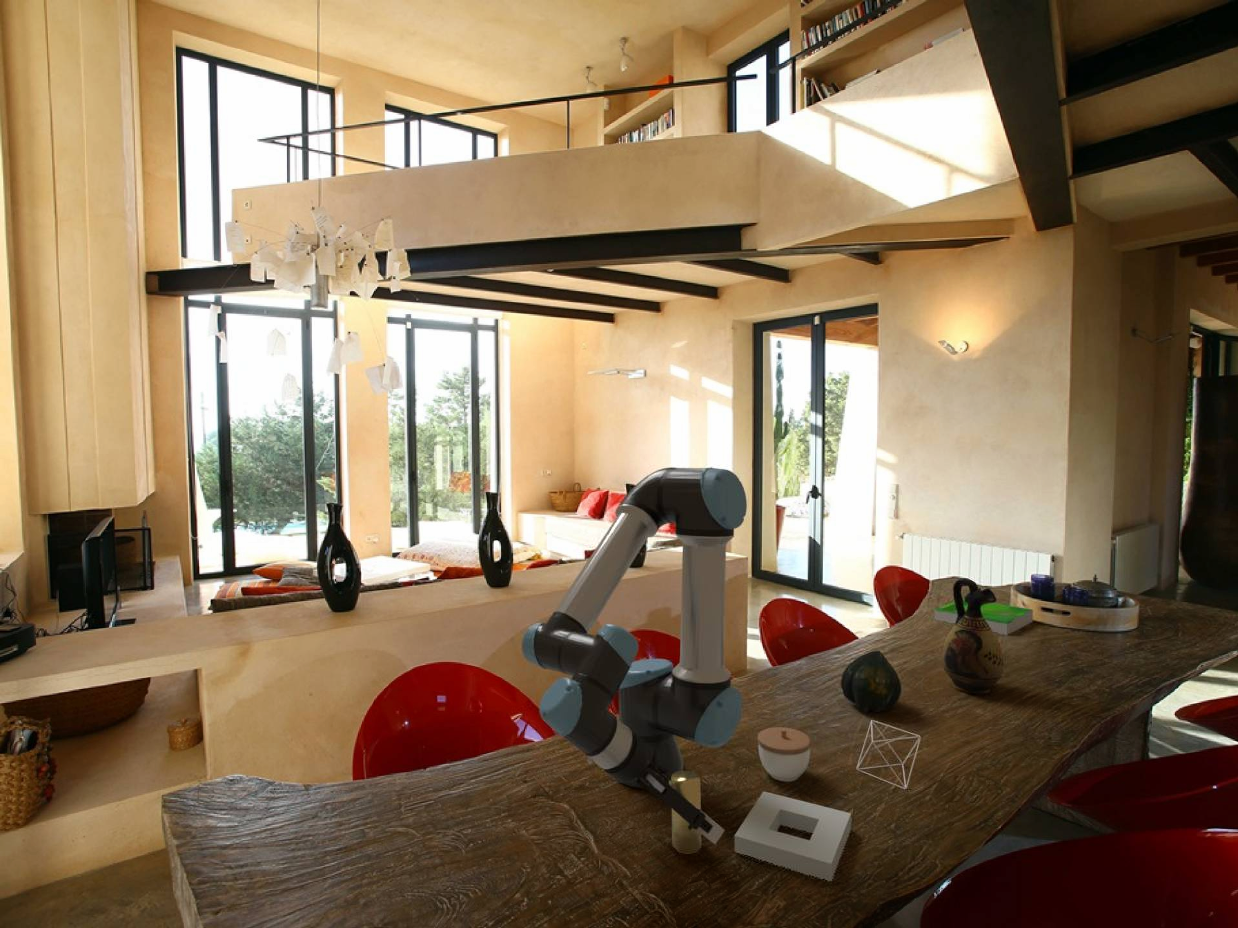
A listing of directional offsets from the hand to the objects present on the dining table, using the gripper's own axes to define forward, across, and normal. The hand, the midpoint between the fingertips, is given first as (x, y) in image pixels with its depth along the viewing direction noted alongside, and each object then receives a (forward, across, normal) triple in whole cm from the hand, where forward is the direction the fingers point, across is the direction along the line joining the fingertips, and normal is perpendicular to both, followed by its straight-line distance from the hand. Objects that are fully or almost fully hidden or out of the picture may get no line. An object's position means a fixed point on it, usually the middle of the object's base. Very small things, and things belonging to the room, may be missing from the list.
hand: (696, 815), depth 116 cm
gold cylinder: (+2, 0, -5) cm, 5 cm away
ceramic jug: (+78, -26, +71) cm, 109 cm away
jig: (+14, +7, +7) cm, 18 cm away
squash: (+54, -30, +47) cm, 77 cm away
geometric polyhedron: (+37, -2, +30) cm, 48 cm away
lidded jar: (+24, -12, +17) cm, 31 cm away
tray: (+122, -68, +115) cm, 181 cm away
